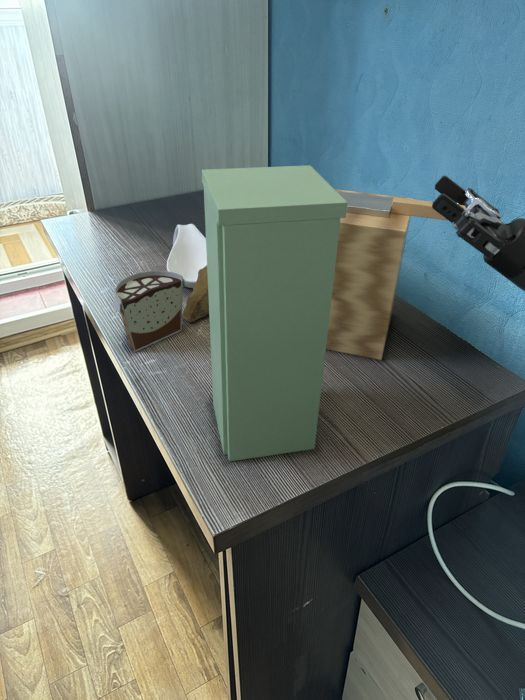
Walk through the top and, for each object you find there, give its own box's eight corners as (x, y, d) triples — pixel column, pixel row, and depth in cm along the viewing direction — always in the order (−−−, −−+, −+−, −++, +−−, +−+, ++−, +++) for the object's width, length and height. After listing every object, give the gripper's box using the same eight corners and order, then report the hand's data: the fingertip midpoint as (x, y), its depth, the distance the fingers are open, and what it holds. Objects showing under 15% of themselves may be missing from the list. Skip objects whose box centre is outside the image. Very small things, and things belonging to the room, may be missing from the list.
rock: (187, 322, 85) (243, 304, 88) (170, 272, 85) (227, 256, 87) (181, 327, 96) (231, 311, 98) (166, 283, 96) (217, 268, 98)
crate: (391, 316, 93) (414, 198, 80) (381, 360, 82) (406, 231, 69) (304, 301, 97) (313, 186, 84) (284, 341, 86) (291, 215, 73)
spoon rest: (235, 292, 99) (234, 258, 94) (173, 300, 96) (170, 265, 91) (208, 243, 117) (206, 212, 113) (155, 248, 114) (152, 217, 110)
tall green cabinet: (293, 389, 75) (310, 165, 57) (318, 448, 66) (347, 202, 47) (212, 399, 73) (201, 169, 55) (225, 462, 64) (218, 209, 45)
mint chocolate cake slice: (167, 313, 92) (162, 262, 86) (189, 327, 88) (185, 274, 83) (105, 340, 85) (95, 285, 79) (126, 356, 81) (117, 300, 75)
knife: (462, 213, 76) (465, 200, 75) (462, 227, 71) (465, 215, 70) (309, 193, 81) (310, 182, 80) (299, 206, 76) (300, 194, 75)
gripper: (543, 220, 77) (457, 154, 75) (557, 259, 65) (456, 182, 64) (503, 257, 81) (421, 195, 80) (510, 299, 70) (415, 228, 69)
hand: (437, 189), depth 72 cm, fingers open, 8 cm apart
